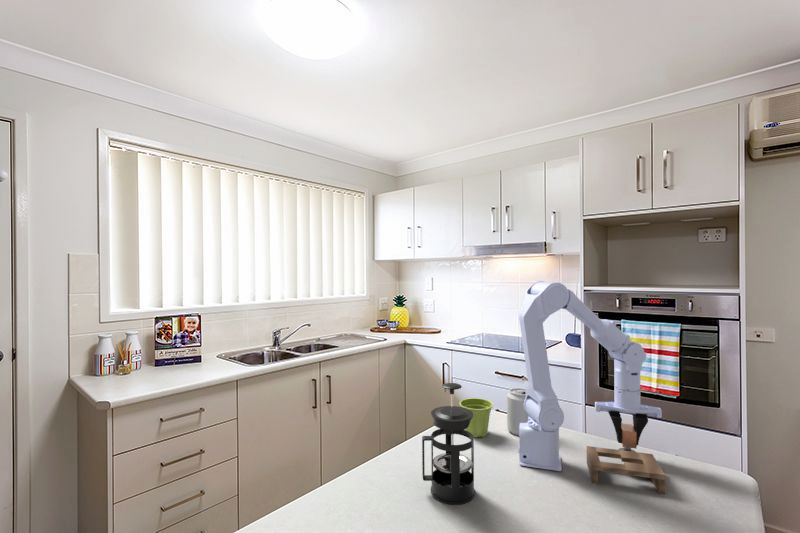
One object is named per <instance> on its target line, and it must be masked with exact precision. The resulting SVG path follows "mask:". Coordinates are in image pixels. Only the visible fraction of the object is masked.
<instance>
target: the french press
mask: <svg viewBox="0 0 800 533" xmlns="http://www.w3.org/2000/svg"><path fill="white" fill-rule="evenodd" d="M441 387H442V388H443V389H446V390H449V394H450V405H445V406H439V407H436V408H433V409H432V410H431V411H430V416H431V417H432V418H433V420H432V422H433V423H432V424H433V426H434V427H436V428H438V429H436V430H434V431H432V433H431V435H423V436H421V437H422V438H421V455H422V456H421V460H422V461H421V464H422V465H421V466H422V467H421V471H422V474H421V475H422V480H423V481H425V482H429V481H430V482H431V485H430V486H431V487H430V494H431V496H432V497H433V498H434V500H436V501H437V502H440V503H442V504H446V505H453V506H454V505H455V506H458V505H459V506H460V505H464V504H467V503H469V502H471V501H472V500H474V498H475V495H476V491H475V472H474V471H475V468H474V467H475V462H474V460H475V458H474V457H475V456H474V455H475V454H474V453H475V451H474V450H475V449H474V448H475V447H474V446H475V444H474V438H475V437H473V435H472V434H471V433H470V432H468V431H466V430H465V429H467V428H468V426H469V424H470V421H471V419H472V418H473V412H472V411H470V410H468V409H466V408H463V407H461V406H457V405H456V406H455V405H453V404H454V403H453V402H454V394H455V390H460V389H461V388H463V386H462V385H461V384H459V383H456V382H455V383H454V382H446V383H443V384H442V385H441ZM441 435H445V443H442V442H439V441H437V440H436V439H435V438H437V437H438V436H441ZM454 435H459V436H464V437H466V438H468V439H470V441H468V442H466V443H462V444H454ZM425 441H426V442H427V441H431V442H430V443H431V444H430V446H431V447H430V452H431V462H430V463H431V474H430V475H429V474H426V473H425ZM434 448H436V449H438V450H442V451H443V452H444V451H445V453H441V454H439V455H435V456H434ZM470 449H471V450H470ZM467 450H470V451H471V452H470V455H471V456H470V457H471V458H469V457H468V456H466V455H463V454H461V452H465V451H467ZM434 468H435V470H434ZM446 483H451V486H445V485H442V484H446ZM461 485H462V486H461Z"/></svg>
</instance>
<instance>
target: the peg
mask: <svg viewBox="0 0 800 533" xmlns="http://www.w3.org/2000/svg"><path fill="white" fill-rule="evenodd" d="M621 436H622V443H620V444H621V446H622V447H619V448H618V449H617V450H623V451H631V452H637V451H636V450H634V449H637V448H638V447H637V446H638V445H637V441H636V431H635V429H634V427H633V423H632V424H630V423H622V424H621Z"/></svg>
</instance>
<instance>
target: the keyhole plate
mask: <svg viewBox="0 0 800 533" xmlns="http://www.w3.org/2000/svg"><path fill="white" fill-rule="evenodd" d="M600 457H604V458H610V459H611V458H612V459H619V460H621V462H623V463H617V462H610V461H609V462H608V461H601V459H600ZM586 465H587V470H588V473H589V477H590V481H591V484H595V485H598V484H599V471H600V472H606V473H613V474H620V475H626V476H634V477H640V478H649V479H650V480H651V482H652V484H653V485H654V487H655V489H656V491H657V493H658V494H661V495H666V475H665V473H664V471H663V470H662V467H661V466H660V464H659V462H658V461H657V460H656V457H655V456H654V454H653V453H648V452H647V453H646V452H638V451H636V452H631V451H623V450H618V449H614V448H607V447H599V446H589V445H586Z"/></svg>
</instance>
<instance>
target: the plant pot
mask: <svg viewBox="0 0 800 533" xmlns="http://www.w3.org/2000/svg"><path fill="white" fill-rule="evenodd" d="M459 407H463V408H466V409H468V410H470V411H472V412H473V418H472V419H471V421H470V424H469V426H468V428H467V429H465V430H466V431H468V432H470V433H471V434H472V435H473V437H474V438H480V437H482V438H484V437H485V436H487V435H488V430H489V422H490V415H491V412H492V408H493V407H494V403H493V402H492V401H491V400H488V399H484V398H481V397H480V398H479V397H478V398H477V397H470V398H465V399H461V400H460V401H459Z"/></svg>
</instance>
